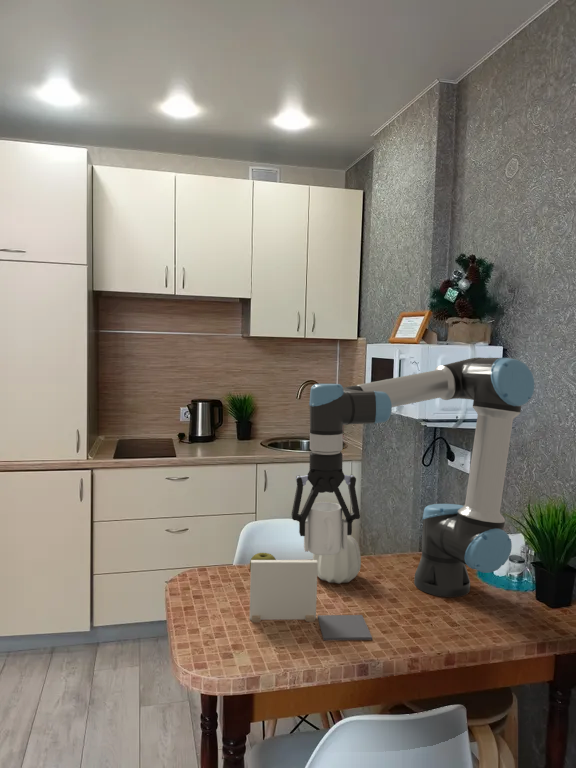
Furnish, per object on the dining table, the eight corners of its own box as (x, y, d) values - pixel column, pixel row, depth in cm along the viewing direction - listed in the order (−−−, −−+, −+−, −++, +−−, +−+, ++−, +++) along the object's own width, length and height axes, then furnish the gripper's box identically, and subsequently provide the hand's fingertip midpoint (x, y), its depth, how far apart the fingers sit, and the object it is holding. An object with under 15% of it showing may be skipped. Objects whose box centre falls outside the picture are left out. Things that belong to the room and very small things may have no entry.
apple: (260, 572, 166) (261, 548, 166) (282, 579, 162) (283, 554, 161) (243, 580, 160) (244, 555, 160) (266, 587, 155) (266, 562, 155)
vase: (302, 579, 162) (304, 533, 161) (327, 565, 173) (329, 522, 172) (345, 592, 154) (347, 543, 153) (368, 576, 165) (370, 531, 165)
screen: (314, 613, 140) (316, 558, 140) (316, 621, 136) (318, 564, 136) (249, 614, 139) (250, 558, 138) (249, 622, 135) (251, 564, 134)
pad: (362, 617, 139) (362, 614, 139) (371, 639, 128) (372, 637, 128) (317, 617, 138) (317, 615, 138) (323, 640, 127) (323, 637, 127)
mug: (349, 561, 126) (349, 515, 125) (312, 563, 125) (312, 516, 124) (337, 543, 137) (337, 501, 137) (303, 544, 136) (303, 502, 136)
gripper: (368, 448, 134) (367, 542, 135) (279, 449, 133) (278, 544, 134) (375, 453, 127) (374, 553, 128) (280, 454, 125) (280, 556, 126)
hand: (325, 549), depth 131 cm, fingers closed on mug, 8 cm apart
